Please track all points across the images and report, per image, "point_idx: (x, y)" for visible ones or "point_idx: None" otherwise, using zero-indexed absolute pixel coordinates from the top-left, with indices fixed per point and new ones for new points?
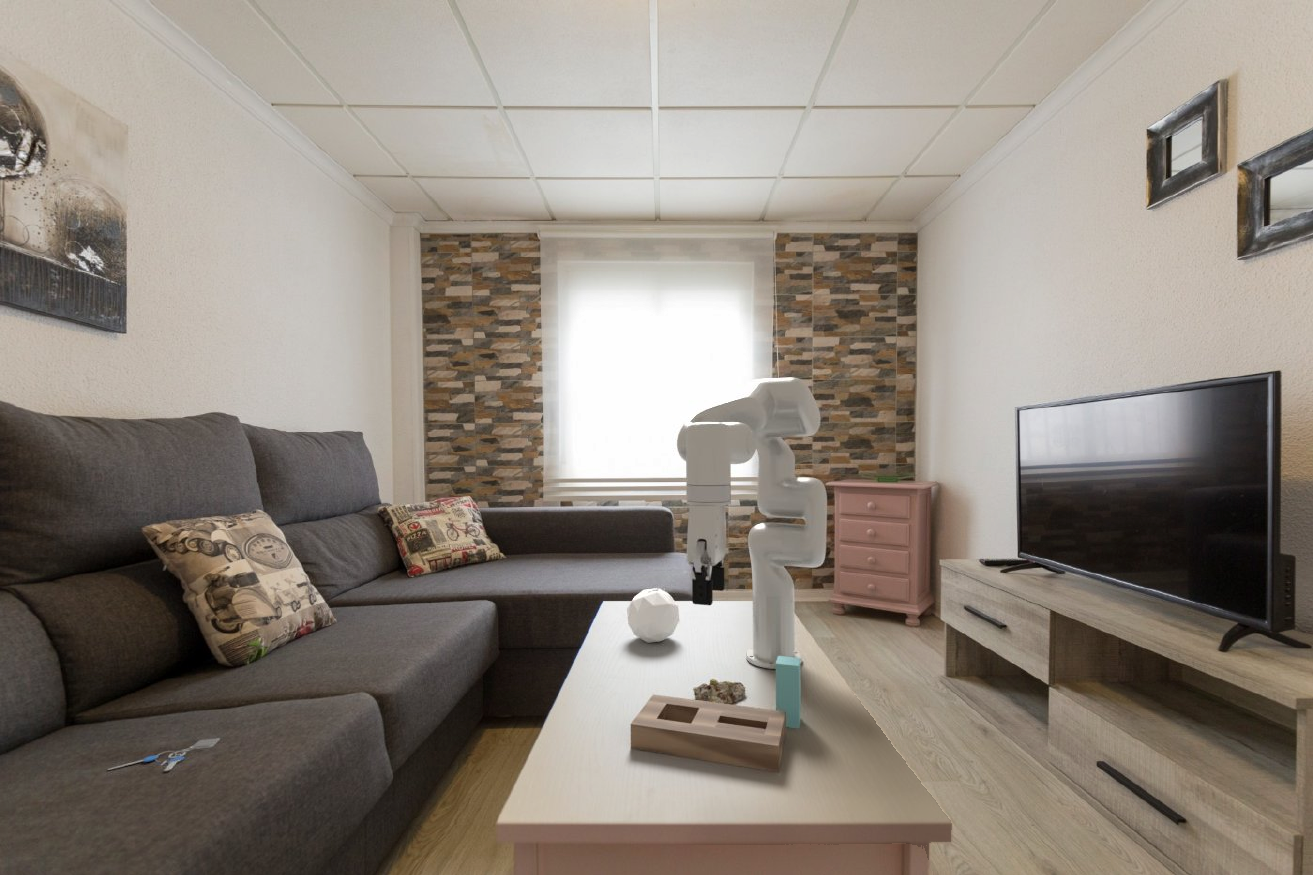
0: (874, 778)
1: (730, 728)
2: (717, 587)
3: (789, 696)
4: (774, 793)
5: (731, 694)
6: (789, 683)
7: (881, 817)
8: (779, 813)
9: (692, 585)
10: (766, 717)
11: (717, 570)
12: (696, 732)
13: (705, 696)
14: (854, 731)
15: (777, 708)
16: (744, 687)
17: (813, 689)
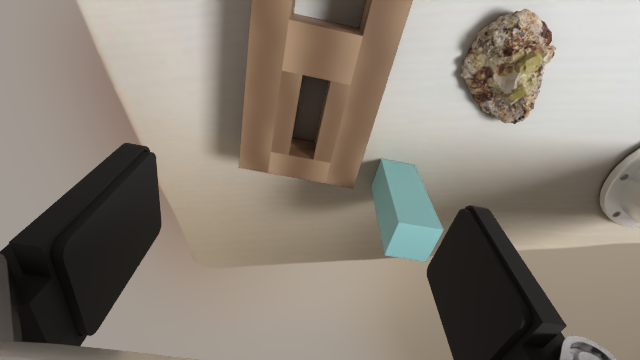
0: (258, 241)
1: (281, 99)
2: (439, 261)
3: (381, 204)
4: (196, 139)
5: (485, 96)
6: (384, 218)
7: (187, 232)
8: (156, 141)
9: (50, 206)
10: (330, 159)
11: (473, 355)
12: (253, 33)
13: (487, 40)
14: (365, 244)
15: (384, 174)
16: (513, 122)
17: (502, 221)
